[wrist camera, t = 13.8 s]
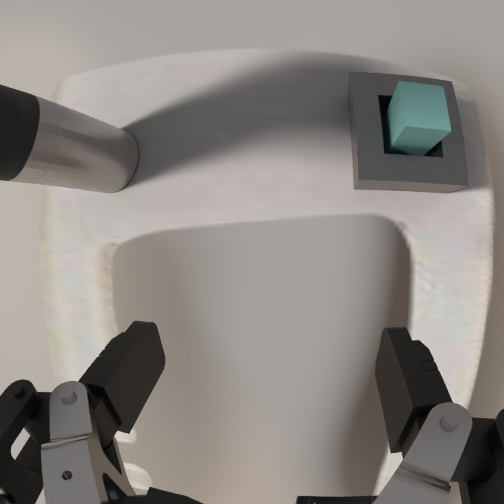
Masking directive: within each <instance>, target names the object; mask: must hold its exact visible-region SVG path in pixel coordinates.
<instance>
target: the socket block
mask: <svg viewBox="0 0 504 504" xmlns="http://www.w3.org/2000/svg"><path fill="white" fill-rule="evenodd" d="M398 81H403V82H413V83H421V84H429V85H436V86H442V87H443V88H444V93H445V98H446V103H447V108H448V114H449V120H450V127H451V132H450V133H448V134H447V135H446V136H445V137H444V138H443V139H442V140H441V141H439V142H438V143H437V144H436V145H435V146H434V147H433V148H431V149H430V150H429V151H428V152H427V153H426V154H425V155H423V156H415V155H399V154H385V151H384V138H383V126H382V121H383V119H384V116H385V114H386V111H387V109H388V107H389V104H390V102H391V99H392V97H393V94H394V92H395V89H396V87H397V84H398ZM348 103H349V114H350V125H351V139H352V155H353V177H354V189H361V190H394V191H415V192H433V193H449V192H452V191H455V190H458V189H461V188H464V187H467V186H468V182H467V170H466V160H465V151H464V143H463V136H462V130H461V124H460V118H459V112H458V107H457V102H456V98H455V93H454V89H453V84H452V82H451V81H445V80H439V79H432V78H424V77H415V76H406V75H394V74H380V73H354V72H350V73H349V88H348Z"/></svg>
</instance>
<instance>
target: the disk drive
mask: <svg viewBox="0 0 504 504" xmlns="http://www.w3.org/2000/svg"><path fill="white" fill-rule="evenodd" d="M377 497H378V496H374V495H368V496H344V497H337V496H334V497H333V496H298V497H297V500H296V504H373V502H374V501H375V500H376V498H377Z"/></svg>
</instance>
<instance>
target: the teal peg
mask: <svg viewBox="0 0 504 504" xmlns="http://www.w3.org/2000/svg"><path fill="white" fill-rule="evenodd" d="M382 126H383V138H384V151H385V154H399V155H415V156H423V155H425V154H426V153H427V152H428V151H429V150H430V149H431V148H433V147H434V146H435V145H436V144H437V143H438V142H439V141H441V140H442V139H443V138H444V137H445V136H446V135H447V134H448V133H450V132H451V127H450V120H449V114H448V108H447V103H446V98H445V93H444V88H443V87H442V86H436V85H429V84H421V83H413V82H403V81H398V84H397V87H396V89H395V92H394V94H393V97H392V99H391V102H390V104H389V107H388V109H387V111H386V114H385V116H384V119H383V121H382Z"/></svg>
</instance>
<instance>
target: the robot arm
mask: <svg viewBox="0 0 504 504" xmlns="http://www.w3.org/2000/svg"><path fill="white" fill-rule="evenodd" d="M137 162H138V147H137V143H136V141H135V139H134V137H133V136H132V135H131V134H130V133H128V132H126V131H124V130H122V129H119V128H117V127H114V126H112V125H110V124H107V123H105V122H103V121H100V120H98V119H95V118H93V117H90V116H88V115H85V114H83V113H80V112H78V111H75V110H72V109H70V108H67V107H65V106H62V105H59V104H57V103H54V102H51V101H48V100H45V99H43V98H40V97H37V96H34V95H32V94H29V93H26V92H22V91H19V90H16V89H13V88H9V87H6V86H3V85H0V180H4V181H13V182H23V183H33V184H42V185H50V186H58V187H66V188H74V189H82V190H88V191H96V192H103V193H114V192H117V191H119V190H120V189H122V188H123V187H124V186H125V185H126V184H127V183H128V182H129V181H130V179H131V178H132V176H133V174H134V172H135V169H136V166H137ZM164 366H165V355H164V350H163V347H162V344H161V340H160V336H159V332H158V329H157V326H156V324H155V323H153V322H144V321H134V322H133V323H132V324H131V325H130V326H129V328H128V329H127V330H126V331H125V332H122V333H121V334H119V335H118V336H116V337H115V338H113V339H112V340H111V341H110V342H109V343H108V345H107V346H106V347H105V350H103V351H102V352H101V353H100V354H99V357H97V358H96V359H95V361H94V362H93V363H92V364H91V366H90V367H89V368H88V369H87V371H86V372H85V373H84V374H83V376H82V377H81V378H80V380H79V381H78V382H77V381H69V382H65V383H62V384H60V385H59V386H57V387H56V388H55V389H54V390H53V392H37V390H36V389H35V387H34V386H33V384H32V383H31V382H30V381H28V380H18V381H15V382H13V383H12V384H11V385H9V386H8V387H7V389H6V390H5V391H4V392H3V393H2V395H1V396H0V504H35V503H36V501H37V499H38V497H39V495H40V493H41V491H42V489H43V487H44V493H45V501H46V504H203V503H200V502H198V501H196V500H193V499H191V498H189V497H187V496H184V495H180V494H175V493H171V492H167V491H163V490H159V489H155V488H152V487H149V490H148V492H147V495H136V493H135V492H134V490H133V488H132V486H131V485H130V483H129V481H128V478H127V475H126V472H125V469H124V465H123V462H122V459H121V455H120V452H119V448H118V444H117V441H116V438H115V437H114V435H115V434H116V432H117V430H118V431H121V432H124V433H128V434H129V433H130V431H131V429H132V428H133V426H134V424H135V422H136V420H137V418H138V416H139V414H140V412H141V411H142V409H143V407H144V405H145V403H146V401H147V399H148V397H149V396H150V394H151V392H152V390H153V388H154V386H155V384H156V383H157V381H158V379H159V377H160V375H161V374H162V372H163V370H164ZM375 376H376V382H377V386H378V390H379V395H380V400H381V405H382V409H383V414H384V419H385V424H386V429H387V435H388V440H389V446H390V452H391V453H397V452H402V456H403V460H402V462H401V464H400V465H399V467H398V468H397V470H396V471H395V473H394V474H393V476H392V477H391V479H390V480H389V482H388V483H387V485H386V486H385V487H384V489H383V490H382V492H381V493H380V494H379V496H378V497H377V498H376V500H375V501H374V502H373V504H444V503H445V501H446V499H447V497H448V495H449V492H450V489H451V486H449V482H450V481H451V482H458V483H459V488H460V494H461V500H462V504H504V409H502V410H501V411H500V412H499V414H498V415H497V417H496V418H495V419H488V418H473V417H471V415H470V414H469V412H468V411H467V410H466V409H465V408H464V407H463V406H461V405H459V404H456V403H453V402H452V399H451V397H450V395H449V392H448V390H447V387H446V385H445V383H444V381H443V378H442V376H441V374H440V372H439V371H438V367H437V365H436V363H435V362H434V359H433V357H432V354H431V352H430V350H429V349H428V348H427V347H426V346H425V345H424V344H423V343H422V342H421V341H419V340H415V341H412V339H411V337H410V335H409V332H408V330H407V328H406V327H392V328H384V330H383V332H382V336H381V341H380V347H379V351H378V355H377V360H376V365H375ZM23 428H25V430H26V431H27V432H28V433H29V435H30V437H29V439H28V441H27V442H26V444H25V445H24V447H23V448H22V450H21V451H20V453H19V455H18V456H17V458H16V460H15V459H14V458H13V457H12V455H11V446H12V444H13V443H14V441H15V440H16V438H17V437H18V435H19V434H20V432H21V431H22V429H23Z"/></svg>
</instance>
